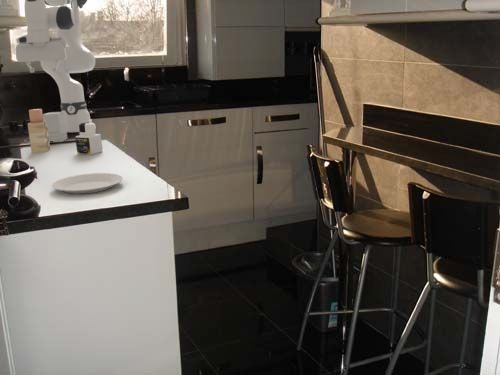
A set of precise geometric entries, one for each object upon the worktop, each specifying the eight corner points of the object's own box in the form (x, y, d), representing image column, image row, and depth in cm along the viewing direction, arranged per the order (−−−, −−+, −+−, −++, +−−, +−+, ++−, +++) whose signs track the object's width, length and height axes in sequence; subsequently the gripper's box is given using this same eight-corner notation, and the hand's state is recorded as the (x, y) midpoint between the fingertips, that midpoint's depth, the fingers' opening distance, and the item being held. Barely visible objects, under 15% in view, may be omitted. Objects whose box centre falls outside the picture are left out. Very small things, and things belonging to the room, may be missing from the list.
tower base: (35, 150, 246) (34, 140, 245) (50, 149, 246) (49, 139, 245) (31, 152, 240) (30, 143, 239) (46, 151, 240) (45, 142, 239)
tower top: (32, 131, 244) (31, 121, 243) (47, 130, 244) (46, 120, 243) (28, 133, 238) (27, 123, 237) (44, 132, 238) (42, 122, 237)
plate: (67, 202, 165) (66, 194, 165) (43, 188, 182) (42, 181, 181) (134, 188, 177) (134, 181, 176) (107, 176, 193) (106, 170, 193)
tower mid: (34, 140, 245) (33, 131, 244) (49, 139, 245) (47, 130, 244) (30, 143, 239) (28, 133, 238) (45, 142, 239) (43, 132, 238)
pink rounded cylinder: (32, 121, 242) (30, 109, 241) (44, 120, 242) (43, 108, 241) (28, 123, 237) (27, 110, 236) (41, 122, 238) (39, 110, 236)
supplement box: (68, 139, 268) (64, 111, 265) (61, 142, 261) (57, 113, 258) (52, 139, 269) (48, 112, 266) (45, 142, 262) (41, 114, 259)
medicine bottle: (76, 154, 232) (73, 124, 229) (89, 150, 238) (86, 121, 235) (90, 155, 229) (87, 124, 226) (103, 151, 235) (99, 121, 232)
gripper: (66, 36, 248) (70, 70, 251) (16, 39, 246) (21, 72, 250) (63, 36, 242) (67, 71, 245) (12, 39, 240) (17, 73, 244)
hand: (43, 71), depth 248 cm, fingers open, 8 cm apart
